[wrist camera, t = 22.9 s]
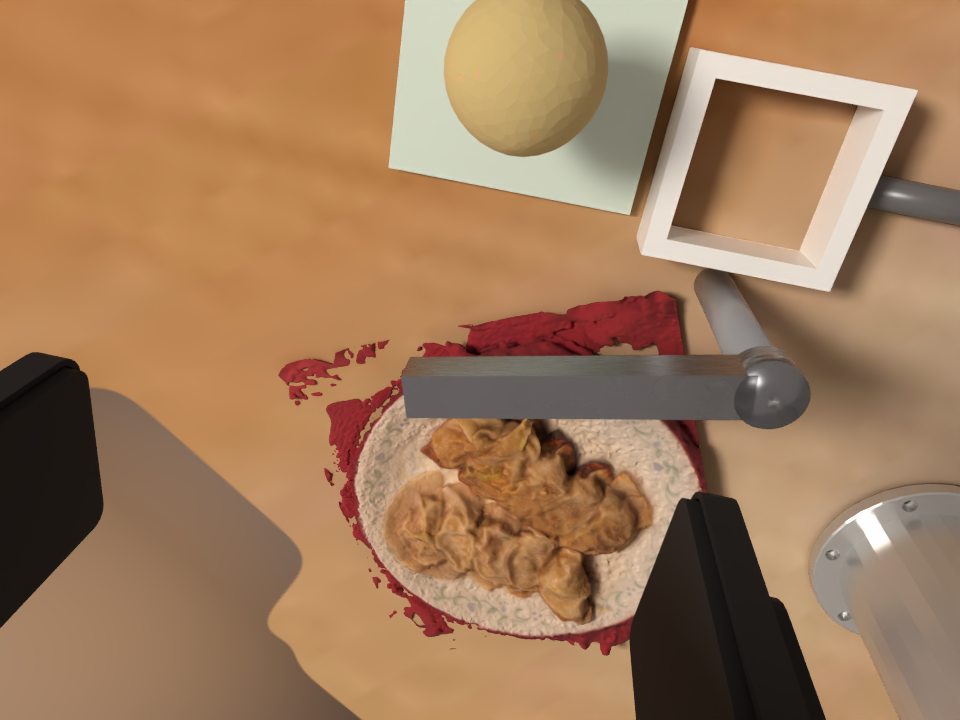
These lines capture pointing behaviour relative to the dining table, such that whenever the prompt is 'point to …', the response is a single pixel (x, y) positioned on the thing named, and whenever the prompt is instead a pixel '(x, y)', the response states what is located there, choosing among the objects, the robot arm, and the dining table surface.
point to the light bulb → (526, 73)
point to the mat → (572, 167)
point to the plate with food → (518, 488)
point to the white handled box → (835, 215)
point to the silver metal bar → (610, 387)
